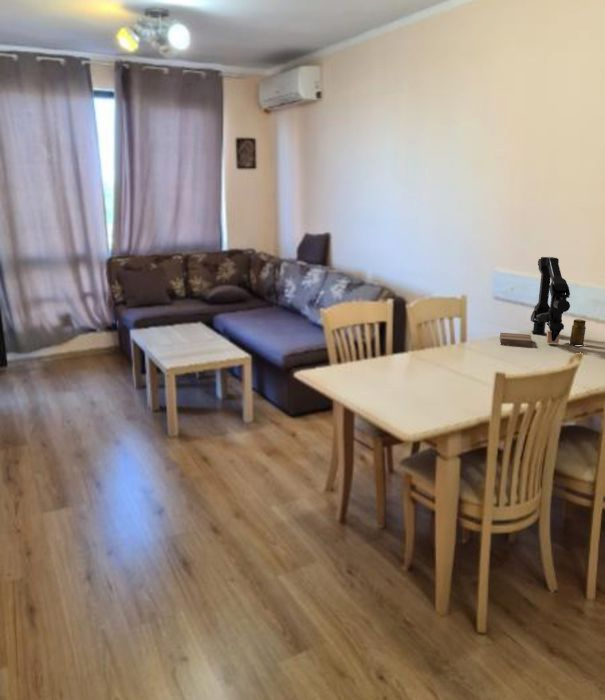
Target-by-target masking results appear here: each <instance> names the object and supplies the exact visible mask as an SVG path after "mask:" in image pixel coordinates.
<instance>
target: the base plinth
mask: <svg viewBox="0 0 605 700" xmlns="http://www.w3.org/2000/svg"><path fill="white" fill-rule="evenodd" d="M499 342H500V343H501V344H500V346H508V345H509V347H511V346H512V347H523V348H532V346H533V339H532V336H531V334H525V333H524V334H523V333H511V332H510V333H509V332H500V333H499Z"/></svg>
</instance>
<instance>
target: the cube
mask: <svg viewBox="0 0 605 700" xmlns="http://www.w3.org/2000/svg"><path fill="white" fill-rule="evenodd" d="M560 333H561V332H560ZM560 333H559V335H558V336H557V338H556V340H555V341H552V335H551V331H550V330H547V332H546V338H545V339H546V343H547V344H557V345H558V344H559V342H560Z"/></svg>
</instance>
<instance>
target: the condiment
mask: <svg viewBox="0 0 605 700" xmlns="http://www.w3.org/2000/svg"><path fill="white" fill-rule="evenodd" d="M586 322H587V321H586V320H583V319H578V318H576V319H574V320H573V323H572V326H571V330H570V331H571V332H570V338H569V339H570V340H569V343H570V344H573V345H572V346H573V347H579V346H575V345H583V344H585V343H584V341H585V335H586ZM570 344H569V345H570ZM579 348H580V347H579Z"/></svg>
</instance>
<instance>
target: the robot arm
mask: <svg viewBox="0 0 605 700" xmlns="http://www.w3.org/2000/svg"><path fill="white" fill-rule="evenodd" d="M559 261H560V260H559V258H557V257H555V256H541V257H540V258H539V259H538V261H537V265H538V271H539V273H540V282H539V291H538V292H539V293H538V302H537V303H536V305H535V306H534V309H533V311H532V312H531V315H530V321H531V322H532V323H533V328H532V330H531V334H532V335H544V336H547V332H545V330H546V326H547V327H548V329H549V331H551V335H552V341H555V340H556V338H557V336H558V335H559V333H561V331H564V329H565V324H564V323H563V320H562V317H563V314H564V313H566V312H568V311H569V310H570V308H571V303H570V301H568V300H567V299H568V298H570V295H571V293H570V292H571V291H570V287H569V284H568V283H567V280H566V279H565V278H563V276H562V272H561V269H560V265H559ZM549 295H550V304H549ZM559 336H560V335H559Z"/></svg>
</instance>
